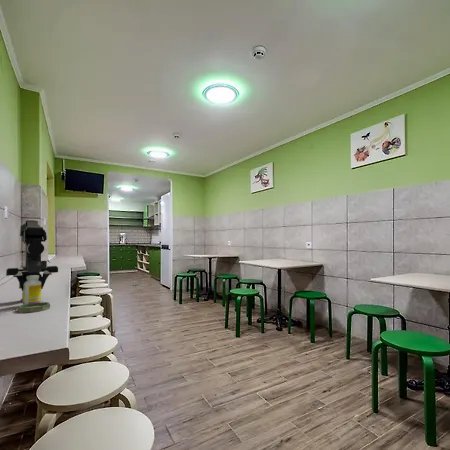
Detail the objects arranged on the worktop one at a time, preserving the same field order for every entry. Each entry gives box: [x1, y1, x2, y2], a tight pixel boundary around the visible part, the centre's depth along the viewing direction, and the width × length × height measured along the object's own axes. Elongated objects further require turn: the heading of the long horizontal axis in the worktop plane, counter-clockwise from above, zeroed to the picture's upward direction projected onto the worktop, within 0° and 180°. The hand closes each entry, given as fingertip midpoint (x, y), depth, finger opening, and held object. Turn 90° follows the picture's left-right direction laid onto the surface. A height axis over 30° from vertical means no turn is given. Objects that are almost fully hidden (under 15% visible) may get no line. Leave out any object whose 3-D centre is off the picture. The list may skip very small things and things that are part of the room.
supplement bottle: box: [22, 275, 42, 305], centre depth 121 cm, size 7×7×13 cm
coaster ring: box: [17, 301, 51, 314], centre depth 112 cm, size 11×11×2 cm
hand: (32, 290), depth 121 cm, fingers closed on supplement bottle, 7 cm apart
